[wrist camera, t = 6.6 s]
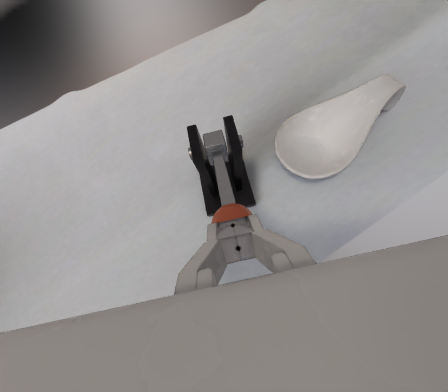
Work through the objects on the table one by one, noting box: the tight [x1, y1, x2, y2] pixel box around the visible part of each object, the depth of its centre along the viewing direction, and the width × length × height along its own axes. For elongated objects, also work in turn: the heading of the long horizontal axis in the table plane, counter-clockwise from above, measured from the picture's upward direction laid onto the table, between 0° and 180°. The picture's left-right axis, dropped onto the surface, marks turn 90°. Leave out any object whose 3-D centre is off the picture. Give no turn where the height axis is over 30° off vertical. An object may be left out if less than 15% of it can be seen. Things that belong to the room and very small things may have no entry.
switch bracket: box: [187, 115, 256, 217], centre depth 22 cm, size 10×8×13 cm
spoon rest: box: [274, 74, 406, 179], centre depth 26 cm, size 24×12×7 cm, turn 126°
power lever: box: [203, 130, 252, 224], centre depth 15 cm, size 13×3×3 cm, turn 14°
